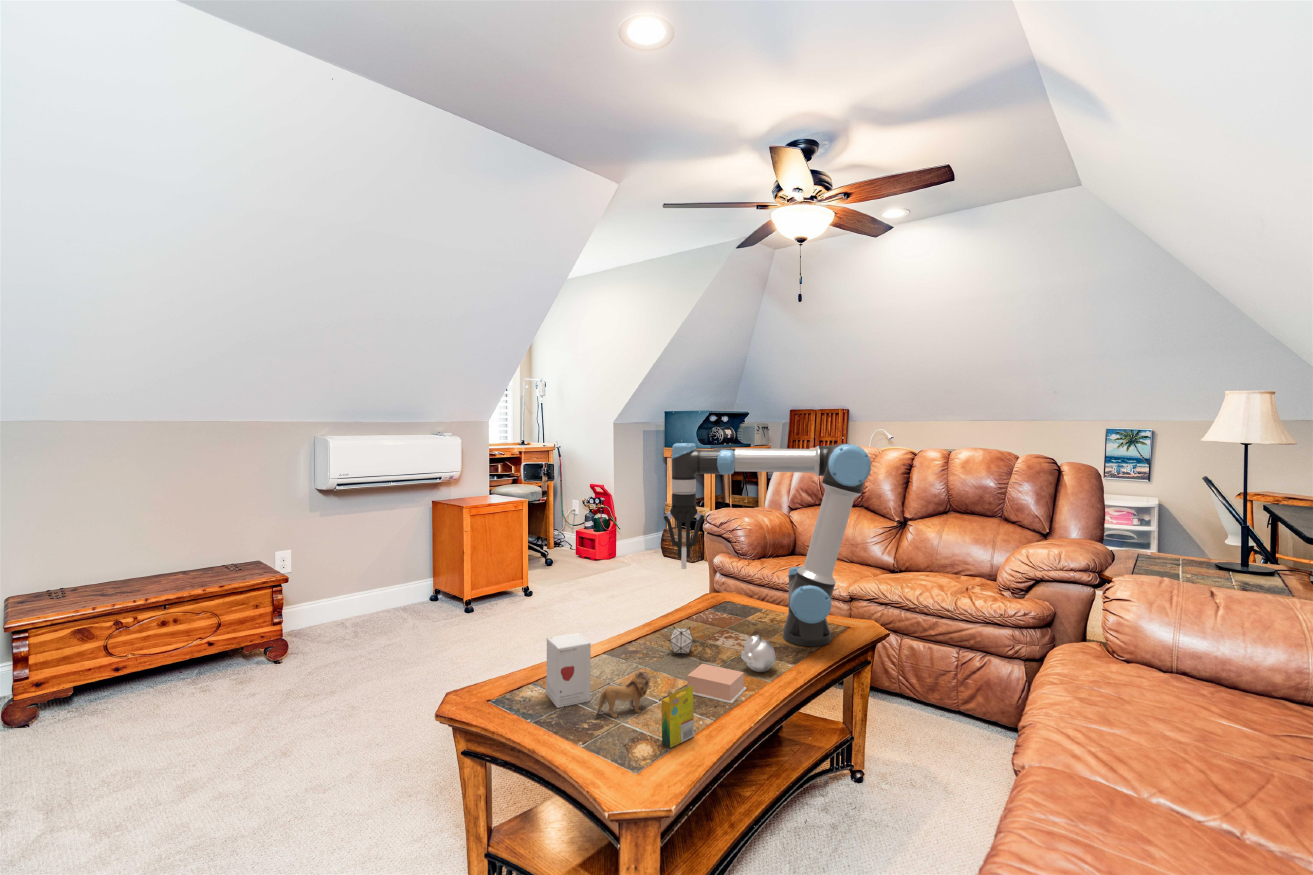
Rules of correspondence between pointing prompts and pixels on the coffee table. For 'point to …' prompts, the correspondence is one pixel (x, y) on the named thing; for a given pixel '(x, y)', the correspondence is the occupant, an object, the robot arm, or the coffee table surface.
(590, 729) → the coffee table surface
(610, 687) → the lion figurine
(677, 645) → the game die
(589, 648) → the supplement box
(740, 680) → the peach rectangular block
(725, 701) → the felt mat
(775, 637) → the coffee table surface
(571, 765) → the coffee table surface
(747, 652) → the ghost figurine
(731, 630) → the coffee table surface
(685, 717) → the crayon box
